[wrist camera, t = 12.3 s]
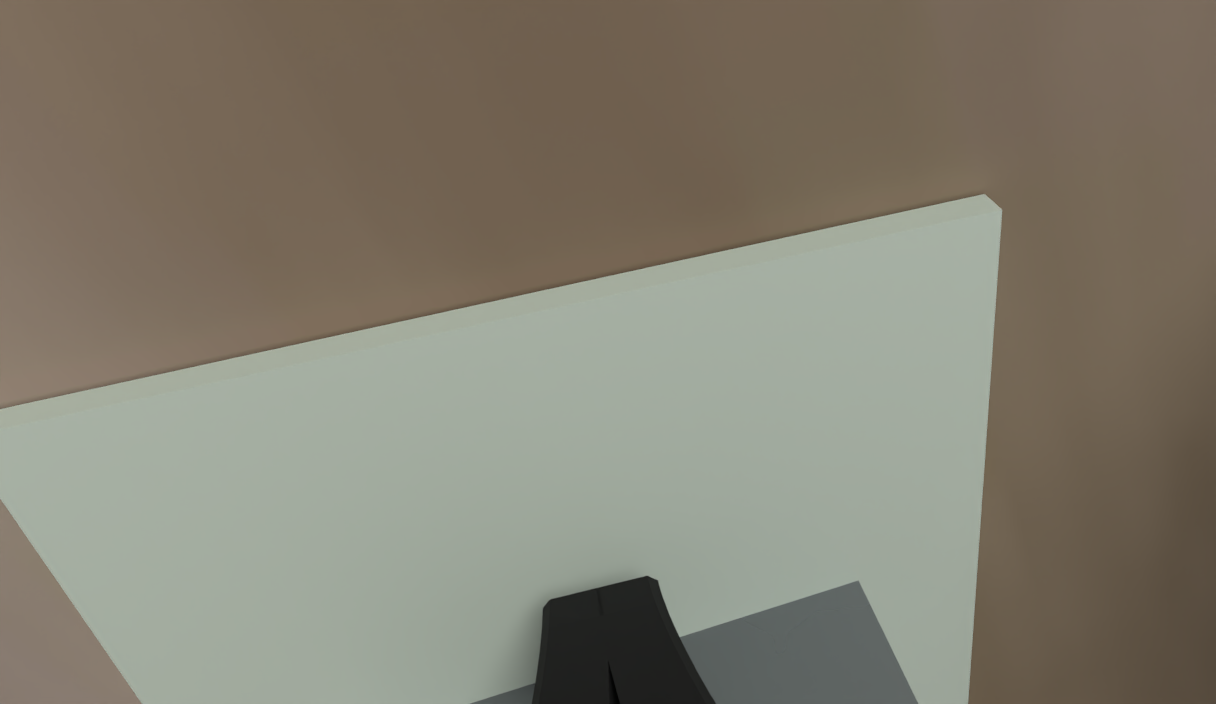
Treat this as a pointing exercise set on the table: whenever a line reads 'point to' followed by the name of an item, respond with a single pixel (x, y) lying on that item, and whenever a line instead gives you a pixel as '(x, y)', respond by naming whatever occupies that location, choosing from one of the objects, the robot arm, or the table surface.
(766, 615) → the grey toy block
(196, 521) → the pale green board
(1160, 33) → the table surface
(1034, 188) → the table surface
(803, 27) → the table surface
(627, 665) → the robot arm
